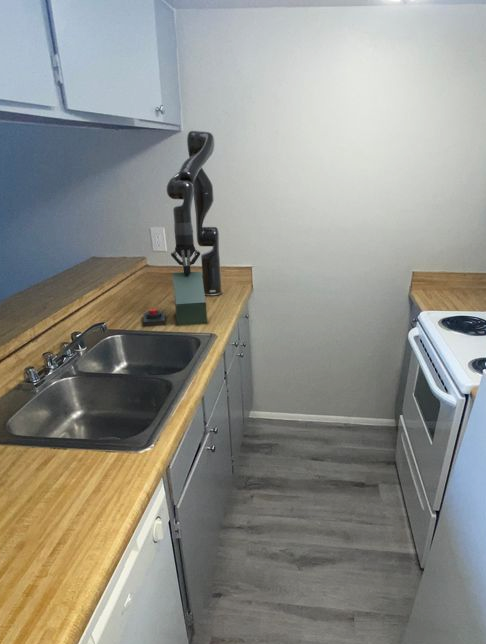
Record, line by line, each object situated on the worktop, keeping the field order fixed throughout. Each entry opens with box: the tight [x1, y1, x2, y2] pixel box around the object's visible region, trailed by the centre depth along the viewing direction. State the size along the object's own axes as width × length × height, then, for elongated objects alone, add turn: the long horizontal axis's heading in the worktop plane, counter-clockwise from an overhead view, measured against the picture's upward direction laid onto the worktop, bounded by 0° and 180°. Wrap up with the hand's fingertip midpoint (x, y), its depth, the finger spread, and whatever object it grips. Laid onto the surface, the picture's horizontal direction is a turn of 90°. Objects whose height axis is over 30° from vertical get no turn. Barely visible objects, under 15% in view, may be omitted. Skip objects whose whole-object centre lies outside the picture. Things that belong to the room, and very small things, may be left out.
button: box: [148, 308, 159, 314], centre depth 205 cm, size 4×4×2 cm
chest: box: [173, 295, 208, 326], centre depth 209 cm, size 16×13×9 cm
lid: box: [171, 271, 207, 305], centre depth 203 cm, size 16×13×1 cm
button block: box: [142, 310, 166, 328], centre depth 207 cm, size 12×9×4 cm
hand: (187, 274), depth 205 cm, fingers closed
